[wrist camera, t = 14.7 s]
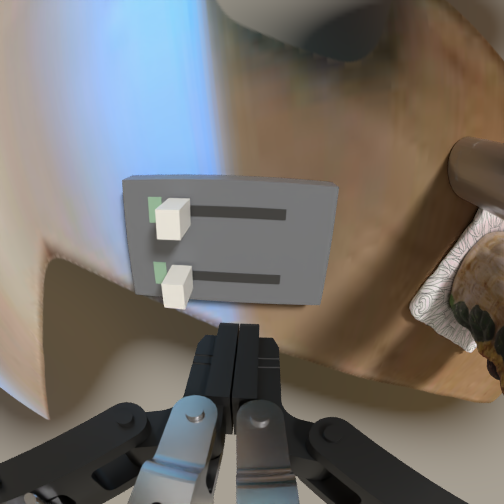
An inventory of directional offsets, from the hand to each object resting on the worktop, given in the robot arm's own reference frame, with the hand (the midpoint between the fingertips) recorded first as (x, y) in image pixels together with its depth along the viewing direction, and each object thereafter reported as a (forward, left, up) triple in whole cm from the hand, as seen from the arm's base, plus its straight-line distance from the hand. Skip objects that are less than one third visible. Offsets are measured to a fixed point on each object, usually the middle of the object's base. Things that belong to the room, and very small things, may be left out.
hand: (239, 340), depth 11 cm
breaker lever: (+8, +1, -21) cm, 22 cm away
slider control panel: (+3, +5, -24) cm, 25 cm away
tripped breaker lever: (+8, +9, -21) cm, 24 cm away
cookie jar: (-40, +10, -25) cm, 48 cm away
